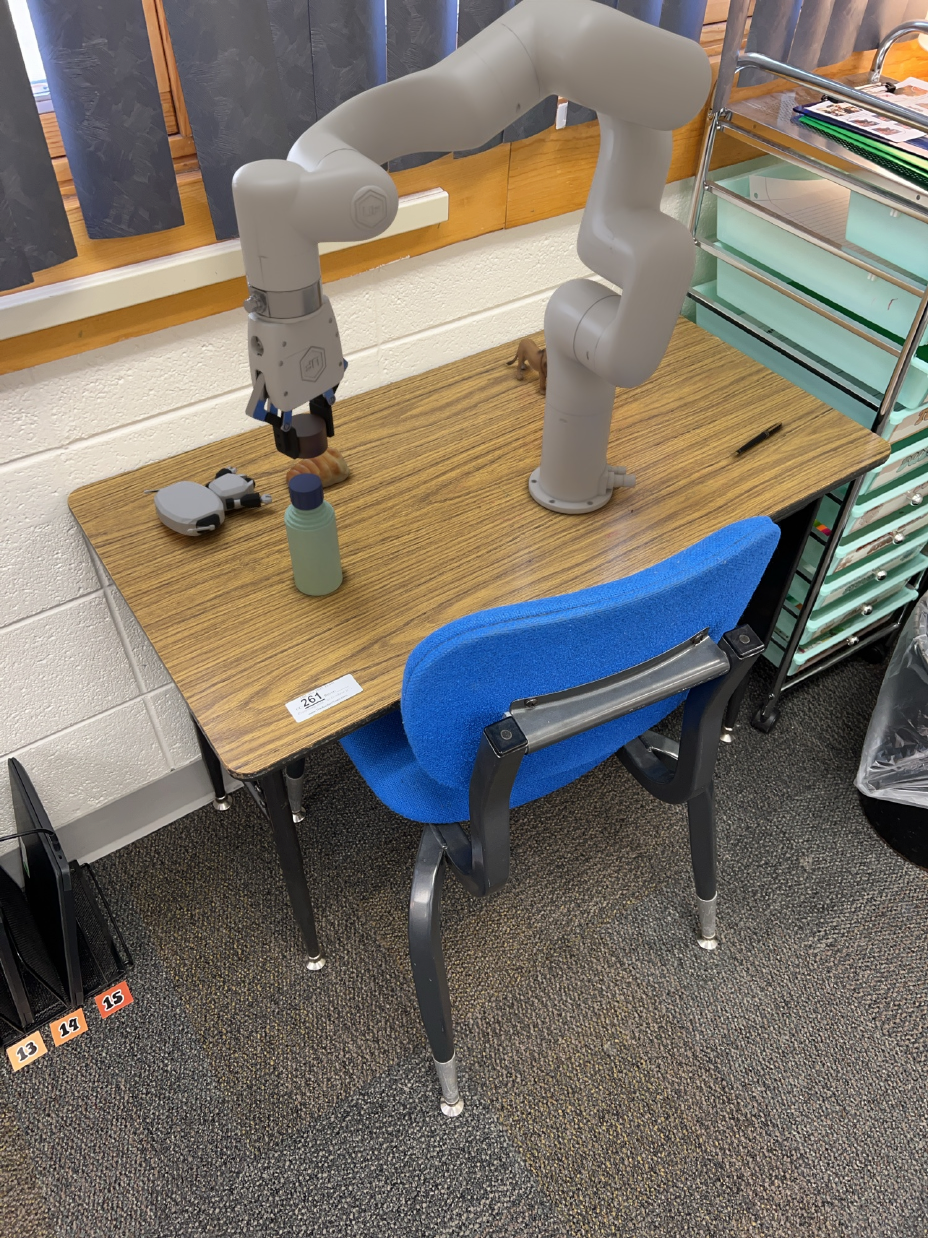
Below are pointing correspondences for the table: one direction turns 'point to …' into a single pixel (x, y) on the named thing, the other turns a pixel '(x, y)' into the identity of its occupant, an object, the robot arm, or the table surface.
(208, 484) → the robot toy
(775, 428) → the fountain pen
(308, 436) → the cylinder
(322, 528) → the bottle
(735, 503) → the table surface
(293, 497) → the cap
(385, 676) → the table surface
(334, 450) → the pastry
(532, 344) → the lion figurine
